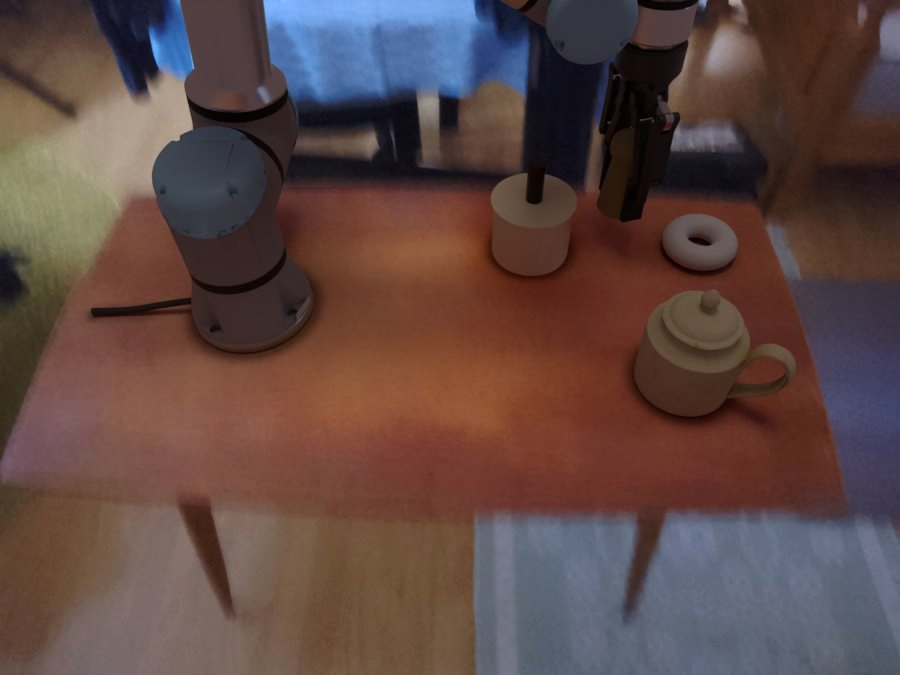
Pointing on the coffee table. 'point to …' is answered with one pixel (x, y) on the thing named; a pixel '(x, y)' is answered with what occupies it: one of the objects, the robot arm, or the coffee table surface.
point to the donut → (698, 255)
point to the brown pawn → (617, 174)
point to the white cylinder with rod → (534, 199)
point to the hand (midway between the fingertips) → (619, 203)
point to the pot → (529, 247)
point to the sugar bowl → (701, 355)
